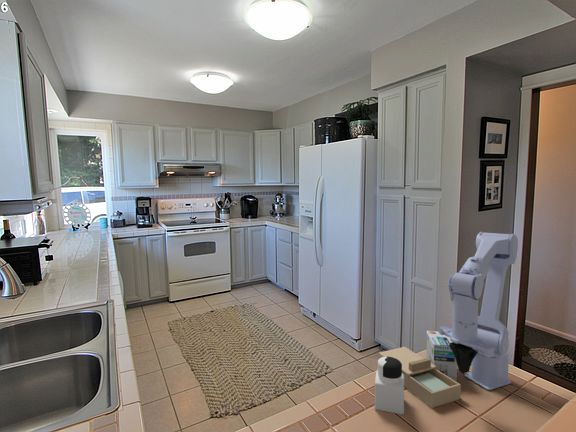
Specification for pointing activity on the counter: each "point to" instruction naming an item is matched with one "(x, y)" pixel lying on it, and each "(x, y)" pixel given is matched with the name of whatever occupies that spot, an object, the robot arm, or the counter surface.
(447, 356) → the light bulb box
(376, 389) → the medicine bottle
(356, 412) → the counter surface
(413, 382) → the base
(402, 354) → the mailer lid
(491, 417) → the counter surface
